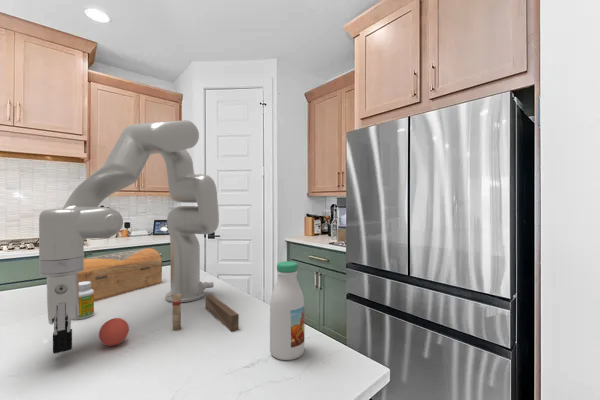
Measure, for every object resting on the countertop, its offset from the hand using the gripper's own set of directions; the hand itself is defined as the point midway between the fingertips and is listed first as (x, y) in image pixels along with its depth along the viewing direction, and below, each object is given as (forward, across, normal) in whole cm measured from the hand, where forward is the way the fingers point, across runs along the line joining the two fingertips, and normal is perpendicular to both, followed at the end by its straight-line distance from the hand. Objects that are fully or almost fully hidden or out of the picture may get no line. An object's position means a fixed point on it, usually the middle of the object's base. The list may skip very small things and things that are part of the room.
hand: (62, 350), depth 64 cm
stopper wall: (+2, 0, -36) cm, 36 cm away
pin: (+2, 0, -24) cm, 24 cm away
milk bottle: (+2, -27, -40) cm, 49 cm away
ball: (-2, 0, -10) cm, 10 cm away
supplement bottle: (+2, +25, -4) cm, 25 cm away
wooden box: (+2, +49, -13) cm, 51 cm away
